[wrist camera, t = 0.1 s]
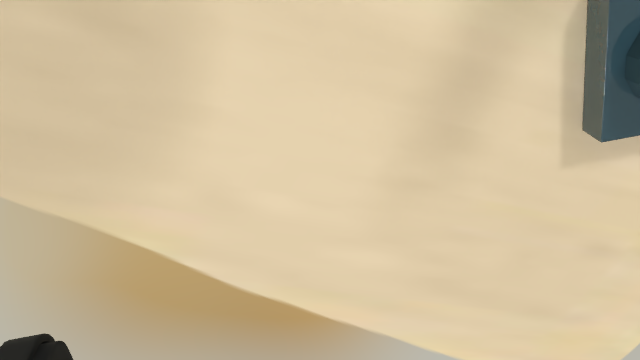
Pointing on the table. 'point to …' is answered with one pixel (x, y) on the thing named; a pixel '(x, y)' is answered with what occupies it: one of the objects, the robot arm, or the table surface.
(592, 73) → the push button box
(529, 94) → the table surface
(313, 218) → the table surface
